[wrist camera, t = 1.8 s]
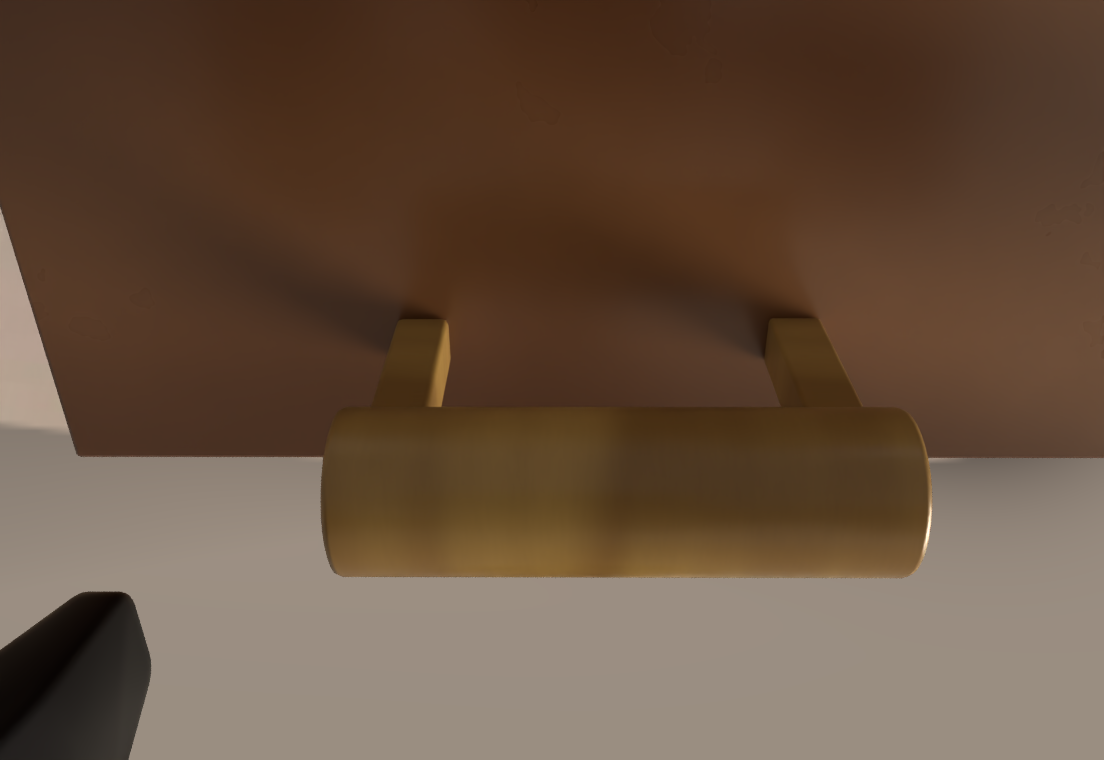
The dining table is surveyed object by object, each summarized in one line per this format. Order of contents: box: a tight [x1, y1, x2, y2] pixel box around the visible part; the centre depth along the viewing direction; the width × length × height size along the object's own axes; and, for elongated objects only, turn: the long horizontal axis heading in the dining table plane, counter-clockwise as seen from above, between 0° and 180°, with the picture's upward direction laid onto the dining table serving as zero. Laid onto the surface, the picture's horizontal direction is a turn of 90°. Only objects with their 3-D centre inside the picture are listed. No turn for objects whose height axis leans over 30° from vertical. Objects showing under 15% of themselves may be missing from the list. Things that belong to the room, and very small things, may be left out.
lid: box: [0, 0, 1104, 578], centre depth 10 cm, size 12×16×5 cm
